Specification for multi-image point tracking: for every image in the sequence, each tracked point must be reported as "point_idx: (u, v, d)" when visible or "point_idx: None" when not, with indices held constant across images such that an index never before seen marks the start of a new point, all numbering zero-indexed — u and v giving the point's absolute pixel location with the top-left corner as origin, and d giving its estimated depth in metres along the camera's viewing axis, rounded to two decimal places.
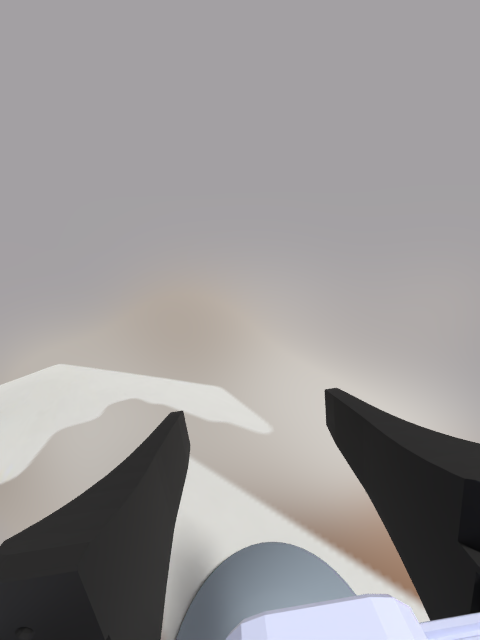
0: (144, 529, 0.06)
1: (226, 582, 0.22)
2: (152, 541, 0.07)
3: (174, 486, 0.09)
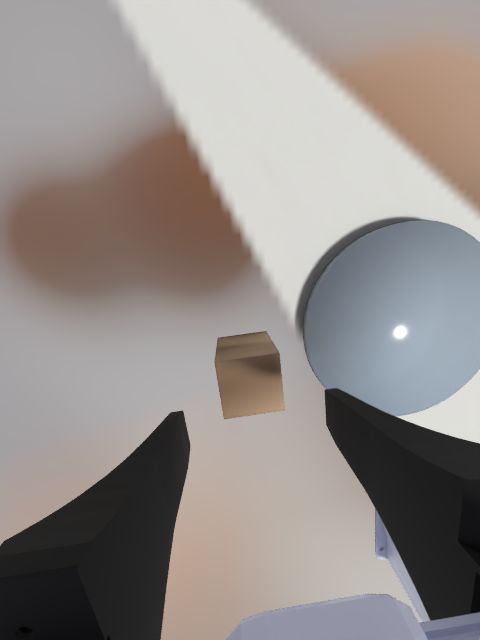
0: (144, 529, 0.06)
1: (359, 266, 0.17)
2: (152, 541, 0.07)
3: (174, 486, 0.09)
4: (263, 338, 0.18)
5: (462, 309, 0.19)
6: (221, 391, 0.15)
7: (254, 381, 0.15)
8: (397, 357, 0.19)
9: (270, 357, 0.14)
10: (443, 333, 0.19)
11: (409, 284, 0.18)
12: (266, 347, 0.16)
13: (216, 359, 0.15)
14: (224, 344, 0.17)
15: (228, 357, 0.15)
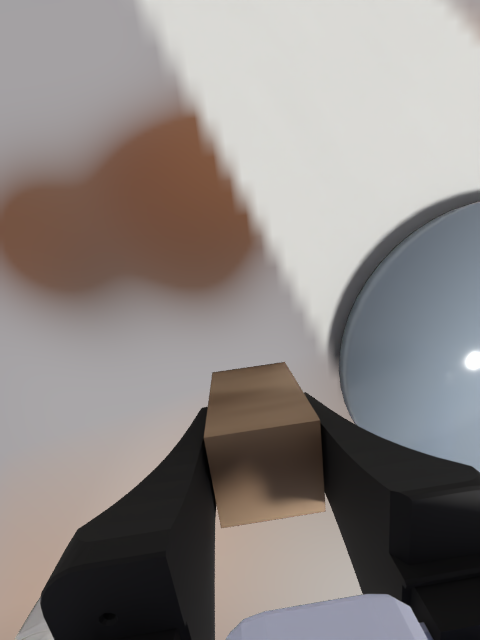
0: (199, 520, 0.07)
1: (434, 265, 0.11)
2: (204, 533, 0.07)
3: None
4: (282, 377, 0.11)
5: None
6: (216, 485, 0.08)
7: (274, 467, 0.08)
8: (479, 400, 0.13)
9: (304, 428, 0.08)
10: None
11: None
12: (292, 402, 0.09)
13: (207, 430, 0.08)
14: (222, 389, 0.11)
15: (229, 425, 0.08)
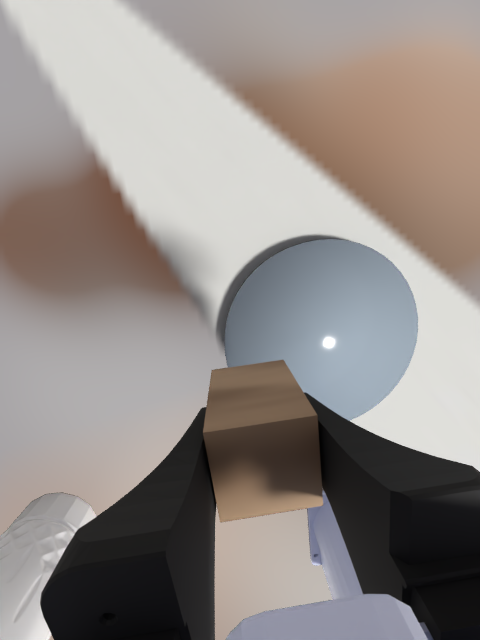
0: (199, 520, 0.07)
1: (272, 283, 0.18)
2: (204, 533, 0.07)
3: None
4: (281, 374, 0.11)
5: (377, 325, 0.19)
6: (215, 479, 0.08)
7: (272, 462, 0.08)
8: (316, 371, 0.20)
9: (301, 423, 0.08)
10: (359, 348, 0.19)
11: (323, 300, 0.18)
12: (290, 398, 0.09)
13: (206, 425, 0.08)
14: (221, 386, 0.11)
15: (228, 421, 0.08)
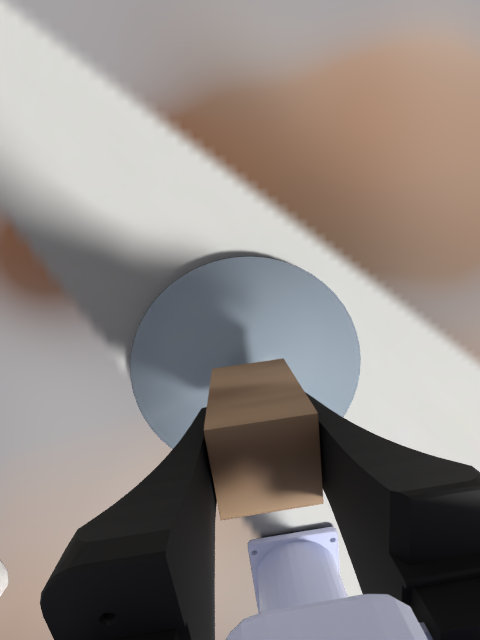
0: (199, 520, 0.07)
1: (181, 308, 0.15)
2: (204, 533, 0.07)
3: None
4: (281, 373, 0.11)
5: (312, 354, 0.16)
6: (216, 477, 0.08)
7: (273, 460, 0.08)
8: None
9: (302, 421, 0.08)
10: None
11: (244, 328, 0.16)
12: (291, 396, 0.09)
13: (207, 423, 0.08)
14: (222, 384, 0.11)
15: (228, 419, 0.08)
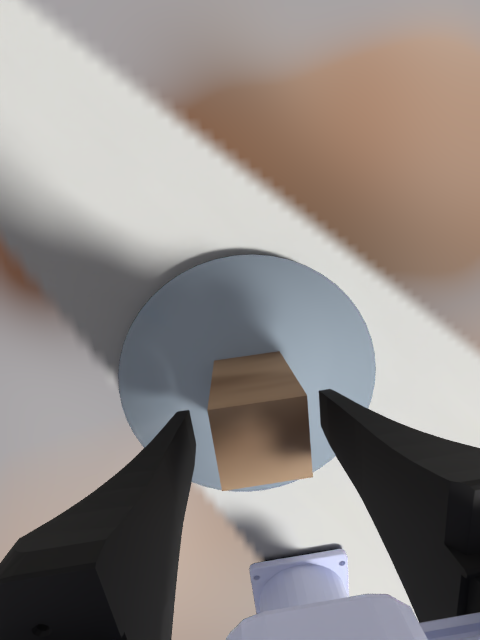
0: (155, 527, 0.06)
1: (175, 313, 0.13)
2: (162, 539, 0.07)
3: (182, 485, 0.09)
4: (277, 363, 0.12)
5: (322, 364, 0.15)
6: (218, 452, 0.10)
7: (268, 437, 0.10)
8: None
9: (293, 402, 0.09)
10: None
11: (246, 335, 0.14)
12: (284, 382, 0.10)
13: (210, 404, 0.10)
14: (223, 373, 0.12)
15: (229, 401, 0.10)
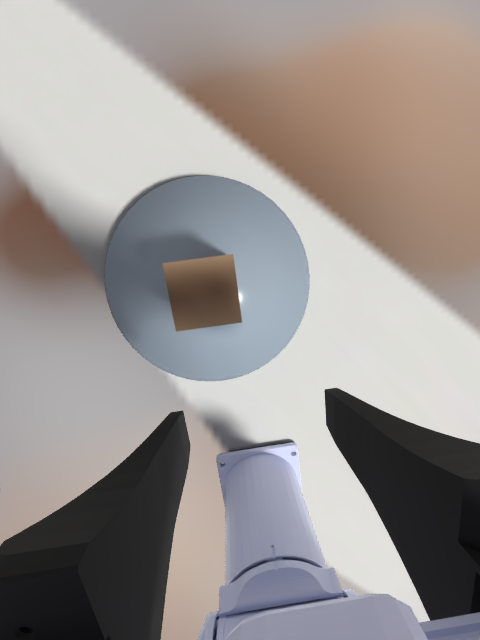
0: (144, 529, 0.06)
1: (148, 223, 0.17)
2: (152, 541, 0.07)
3: (174, 486, 0.09)
4: None
5: (266, 269, 0.18)
6: (171, 298, 0.14)
7: (207, 287, 0.13)
8: None
9: (223, 259, 0.13)
10: (249, 294, 0.19)
11: (204, 243, 0.18)
12: None
13: (165, 263, 0.13)
14: None
15: (179, 261, 0.13)
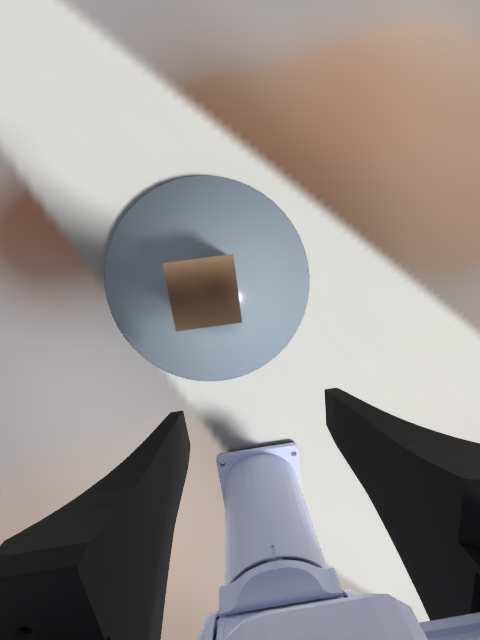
0: (144, 529, 0.06)
1: (148, 223, 0.17)
2: (152, 541, 0.07)
3: (174, 486, 0.09)
4: None
5: (266, 269, 0.18)
6: (171, 298, 0.14)
7: (207, 287, 0.13)
8: None
9: (223, 259, 0.13)
10: (249, 294, 0.19)
11: (204, 243, 0.18)
12: None
13: (165, 263, 0.13)
14: None
15: (179, 261, 0.13)
